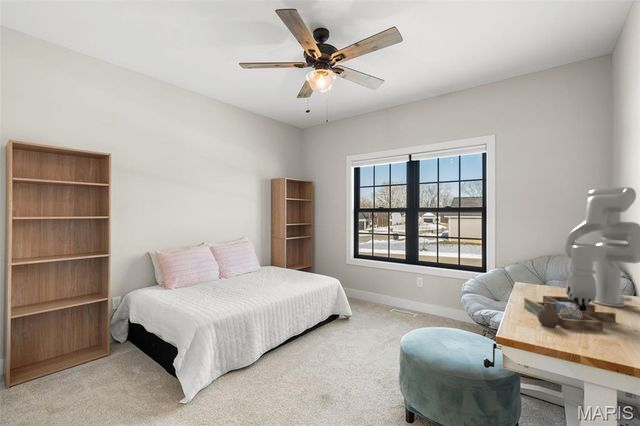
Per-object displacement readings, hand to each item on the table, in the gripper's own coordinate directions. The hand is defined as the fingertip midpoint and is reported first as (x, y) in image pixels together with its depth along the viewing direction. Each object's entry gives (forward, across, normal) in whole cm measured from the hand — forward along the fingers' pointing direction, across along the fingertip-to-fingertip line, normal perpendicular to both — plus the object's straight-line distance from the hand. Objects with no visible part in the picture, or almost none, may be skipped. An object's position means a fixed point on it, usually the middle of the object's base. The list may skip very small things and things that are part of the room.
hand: (581, 312), depth 135 cm
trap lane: (+1, +5, 0) cm, 5 cm away
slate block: (+1, +6, 0) cm, 6 cm away
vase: (+1, +23, +17) cm, 29 cm away
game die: (+1, +12, +12) cm, 17 cm away
